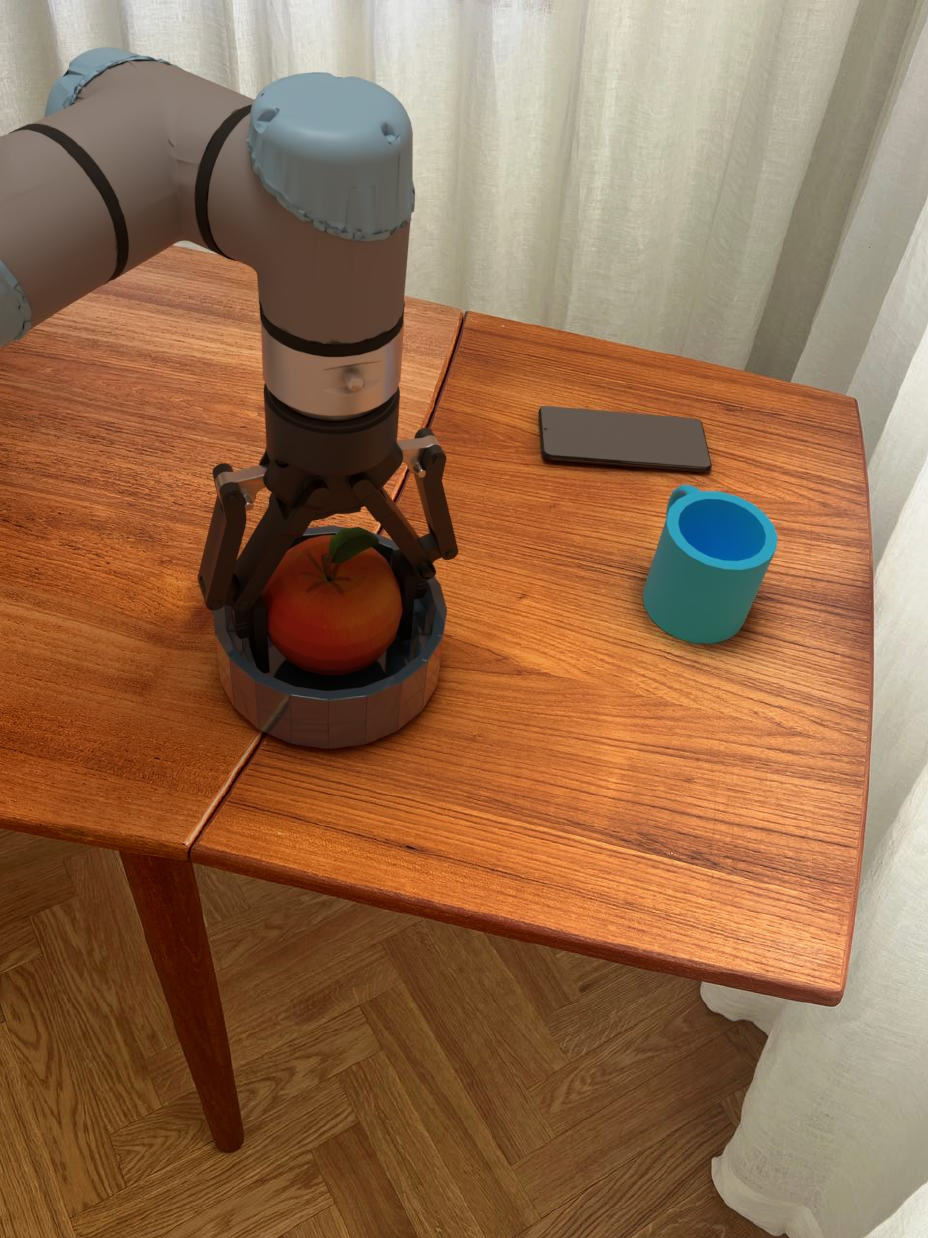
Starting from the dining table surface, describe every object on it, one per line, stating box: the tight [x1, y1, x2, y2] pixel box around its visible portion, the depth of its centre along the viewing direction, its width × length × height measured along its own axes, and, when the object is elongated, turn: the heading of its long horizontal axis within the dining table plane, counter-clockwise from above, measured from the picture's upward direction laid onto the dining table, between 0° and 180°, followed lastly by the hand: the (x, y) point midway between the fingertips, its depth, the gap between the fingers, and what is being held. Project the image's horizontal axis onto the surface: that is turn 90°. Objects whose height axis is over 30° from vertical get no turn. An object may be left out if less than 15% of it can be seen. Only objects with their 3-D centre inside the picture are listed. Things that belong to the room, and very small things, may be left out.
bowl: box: [212, 525, 448, 750], centre depth 77 cm, size 16×16×6 cm
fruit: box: [261, 526, 402, 676], centre depth 74 cm, size 10×10×10 cm
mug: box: [641, 484, 779, 645], centre depth 85 cm, size 12×8×8 cm
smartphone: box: [537, 405, 713, 473], centre depth 98 cm, size 7×1×15 cm
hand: (330, 642), depth 78 cm, fingers closed on fruit, 9 cm apart
